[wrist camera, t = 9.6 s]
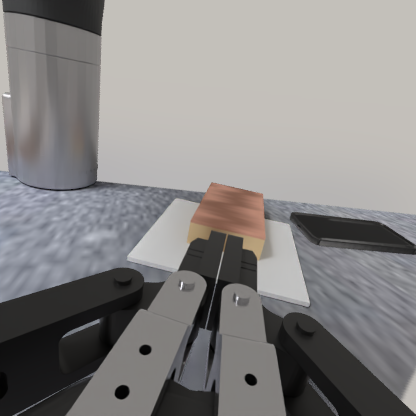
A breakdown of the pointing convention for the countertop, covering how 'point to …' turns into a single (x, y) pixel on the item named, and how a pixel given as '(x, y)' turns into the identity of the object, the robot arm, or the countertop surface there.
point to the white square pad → (266, 266)
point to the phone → (351, 233)
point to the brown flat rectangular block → (230, 216)
